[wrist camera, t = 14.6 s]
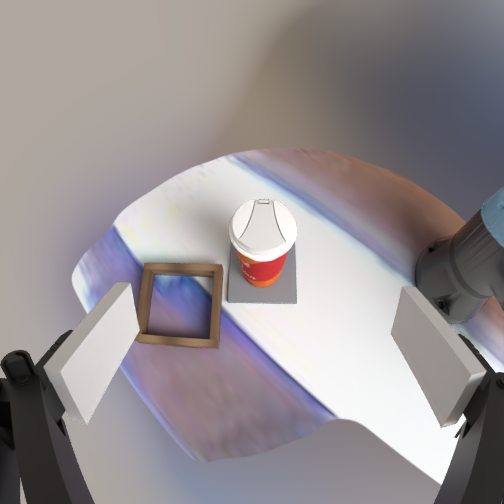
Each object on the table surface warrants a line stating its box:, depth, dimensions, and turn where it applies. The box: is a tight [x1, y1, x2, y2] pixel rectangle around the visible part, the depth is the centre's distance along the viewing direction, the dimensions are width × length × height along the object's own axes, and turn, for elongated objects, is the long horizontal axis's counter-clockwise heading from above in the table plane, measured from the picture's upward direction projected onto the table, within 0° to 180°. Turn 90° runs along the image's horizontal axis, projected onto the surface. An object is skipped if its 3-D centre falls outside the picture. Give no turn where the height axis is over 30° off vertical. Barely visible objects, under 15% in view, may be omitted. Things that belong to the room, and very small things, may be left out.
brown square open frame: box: [134, 263, 223, 349], centre depth 43 cm, size 12×12×2 cm
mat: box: [228, 241, 297, 304], centre depth 46 cm, size 10×10×1 cm
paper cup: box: [229, 199, 297, 288], centre depth 40 cm, size 8×8×14 cm
